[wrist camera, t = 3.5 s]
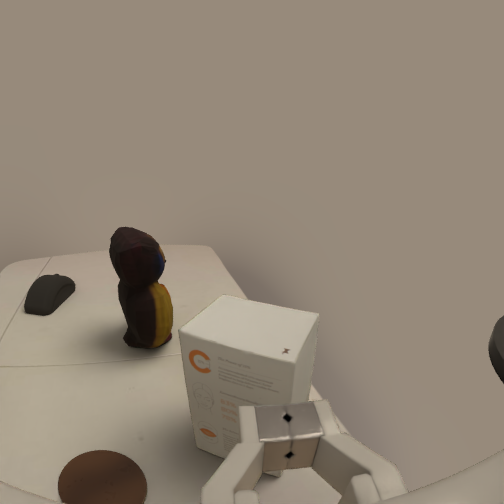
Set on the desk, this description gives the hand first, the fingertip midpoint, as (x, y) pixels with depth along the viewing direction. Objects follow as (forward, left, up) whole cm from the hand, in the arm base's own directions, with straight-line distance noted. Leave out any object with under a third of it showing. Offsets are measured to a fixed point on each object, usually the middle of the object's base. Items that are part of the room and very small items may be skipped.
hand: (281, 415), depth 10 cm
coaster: (+14, +1, -16) cm, 21 cm away
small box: (+5, -10, -16) cm, 20 cm away
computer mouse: (+47, -21, -16) cm, 54 cm away
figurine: (+23, -20, -16) cm, 34 cm away
